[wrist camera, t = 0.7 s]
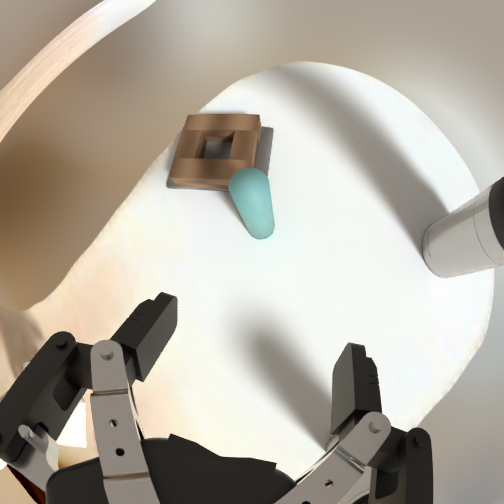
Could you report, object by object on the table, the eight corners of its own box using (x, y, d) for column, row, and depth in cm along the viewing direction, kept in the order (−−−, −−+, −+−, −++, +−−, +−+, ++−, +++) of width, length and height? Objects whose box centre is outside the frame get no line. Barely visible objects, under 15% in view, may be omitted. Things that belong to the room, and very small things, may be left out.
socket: (273, 130, 43) (272, 115, 38) (265, 194, 41) (262, 182, 36) (185, 129, 45) (177, 115, 41) (168, 188, 43) (157, 177, 39)
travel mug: (369, 452, 31) (411, 526, 11) (329, 464, 31) (350, 548, 12) (365, 422, 32) (415, 494, 13) (323, 435, 33) (347, 520, 13)
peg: (276, 214, 40) (271, 169, 26) (272, 240, 39) (266, 206, 25) (249, 211, 40) (231, 166, 27) (245, 237, 40) (225, 202, 26)
